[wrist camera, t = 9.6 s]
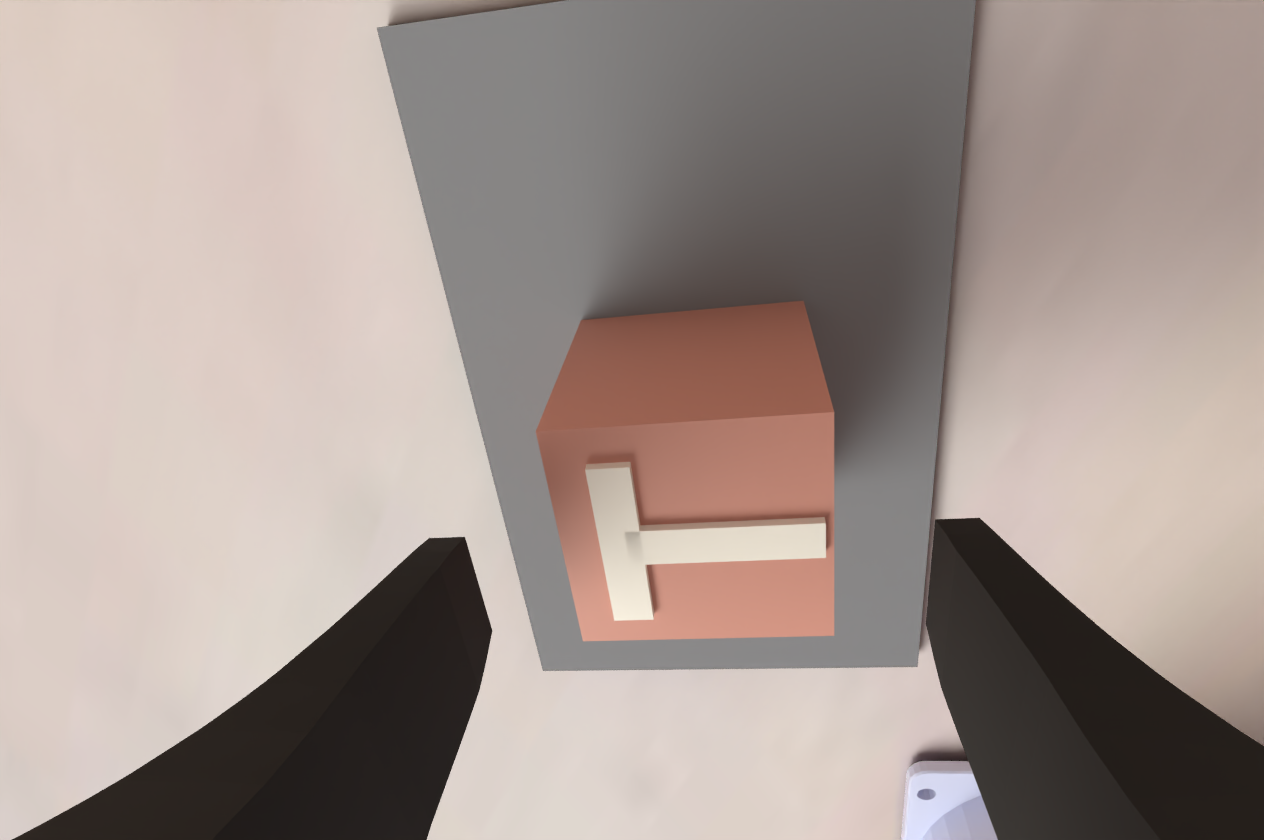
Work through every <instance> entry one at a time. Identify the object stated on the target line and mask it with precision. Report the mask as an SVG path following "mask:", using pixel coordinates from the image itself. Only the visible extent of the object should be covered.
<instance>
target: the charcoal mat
mask: <svg viewBox="0 0 1264 840" xmlns="http://www.w3.org/2000/svg"><path fill="white" fill-rule="evenodd" d="M975 4H976V0H565V1H558V2H551V3H545V4H538V5H531V6H524V7H517V8H510V9H503V10H496V11H489V12H482V13H475V14H469V15H462V16H455V17H448V18H441V19H434V20H427V21H420V22H413V23H406V24H399V25H393V26H386V27H379V28H377V31H378V35H379V39H380V42H381V46H382V50H383V54H384V58H385V62H386V66H387V69H388V73H389V77H390V81H391V85H392V89H393V93H394V97H395V100H396V104H397V108H398V112H399V116H400V120H401V124H402V127H403V131H404V135H405V139H406V143H407V147H408V151H409V155H410V158H411V162H412V166H413V170H414V174H415V178H416V182H417V185H418V189H419V193H420V197H421V201H422V205H423V209H424V213H425V216H426V220H427V224H428V228H429V232H430V236H431V240H432V243H433V247H434V251H435V255H436V259H437V263H438V267H439V271H440V274H441V278H442V282H443V286H444V290H445V294H446V298H447V301H448V305H449V309H450V313H451V317H452V321H453V325H454V329H455V332H456V336H457V340H458V344H459V348H460V352H461V356H462V359H463V363H464V367H465V371H466V375H467V379H468V383H469V387H470V390H471V394H472V398H473V402H474V406H475V410H476V414H477V418H478V421H479V425H480V429H481V433H482V437H483V441H484V445H485V448H486V452H487V456H488V460H489V464H490V468H491V472H492V476H493V479H494V483H495V487H496V491H497V495H498V499H499V503H500V506H501V510H502V514H503V518H504V522H505V526H506V530H507V534H508V537H509V541H510V545H511V549H512V553H513V557H514V561H515V564H516V568H517V572H518V576H519V580H520V584H521V588H522V592H523V595H524V599H525V603H526V607H527V611H528V615H529V619H530V622H531V626H532V630H533V634H534V638H535V642H536V646H537V650H538V653H539V657H540V661H541V665H542V669H543V671H578V670H673V669H768V668H862V667H918V656H919V644H920V633H921V621H922V610H923V598H924V587H925V575H926V564H927V553H928V541H929V530H930V518H931V507H932V495H933V484H934V473H935V461H936V450H937V438H938V427H939V415H940V404H941V393H942V381H943V370H944V358H945V347H946V335H947V324H948V313H949V301H950V290H951V278H952V267H953V255H954V244H955V233H956V221H957V210H958V198H959V187H960V175H961V164H962V152H963V141H964V130H965V118H966V107H967V95H968V84H969V72H970V61H971V50H972V38H973V27H974V15H975ZM793 301H804V304H805V308H806V312H807V315H808V319H809V322H810V326H811V330H812V333H813V337H814V341H815V344H816V348H817V351H818V355H819V359H820V362H821V366H822V370H823V373H824V377H825V380H826V384H827V388H828V391H829V395H830V398H831V402H832V406H833V409H834V636H803V637H757V638H711V639H666V640H620V641H583V639H582V635H581V630H580V626H579V621H578V617H577V613H576V608H575V604H574V599H573V595H572V591H571V586H570V582H569V577H568V573H567V568H566V564H565V560H564V555H563V551H562V546H561V542H560V537H559V533H558V529H557V524H556V520H555V515H554V511H553V506H552V502H551V498H550V493H549V489H548V484H547V480H546V475H545V471H544V467H543V462H542V458H541V453H540V449H539V444H538V440H537V436H536V429H537V427H538V424H539V422H540V420H541V417H542V415H543V412H544V410H545V407H546V405H547V402H548V400H549V397H550V395H551V393H552V390H553V388H554V385H555V383H556V380H557V378H558V375H559V373H560V370H561V368H562V366H563V363H564V361H565V358H566V356H567V353H568V351H569V348H570V346H571V343H572V341H573V339H574V336H575V334H576V331H577V329H578V326H579V324H580V321H581V320H588V319H599V318H611V317H622V316H634V315H645V314H656V313H668V312H679V311H691V310H702V309H713V308H725V307H736V306H748V305H759V304H770V303H782V302H793Z"/></svg>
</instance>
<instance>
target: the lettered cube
mask: <svg viewBox="0 0 1264 840" xmlns="http://www.w3.org/2000/svg"><path fill="white" fill-rule="evenodd" d="M536 436H537V440H538V444H539V449H540V453H541V458H542V462H543V467H544V471H545V475H546V480H547V484H548V489H549V493H550V498H551V502H552V506H553V511H554V515H555V520H556V524H557V529H558V533H559V537H560V542H561V546H562V551H563V555H564V560H565V564H566V568H567V573H568V577H569V582H570V586H571V591H572V595H573V599H574V604H575V608H576V613H577V617H578V621H579V626H580V630H581V635H582V639H583V641H620V640H666V639H711V638H757V637H803V636H834V409H833V406H832V402H831V398H830V395H829V391H828V388H827V384H826V380H825V377H824V373H823V370H822V366H821V362H820V359H819V355H818V351H817V348H816V344H815V341H814V337H813V333H812V330H811V326H810V322H809V319H808V315H807V312H806V308H805V304H804V301H793V302H782V303H770V304H759V305H748V306H736V307H725V308H713V309H702V310H691V311H679V312H668V313H656V314H645V315H634V316H622V317H611V318H599V319H588V320H581V321H580V324H579V326H578V329H577V331H576V334H575V336H574V339H573V341H572V343H571V346H570V348H569V351H568V353H567V356H566V358H565V361H564V363H563V366H562V368H561V370H560V373H559V375H558V378H557V380H556V383H555V385H554V388H553V390H552V393H551V395H550V397H549V400H548V402H547V405H546V407H545V410H544V412H543V415H542V417H541V420H540V422H539V424H538V427H537V429H536Z"/></svg>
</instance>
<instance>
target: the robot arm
mask: <svg viewBox="0 0 1264 840" xmlns="http://www.w3.org/2000/svg"><path fill="white" fill-rule="evenodd" d="M926 626H927V630H928V634H929V639H930V643H931V647H932V652H933V656H934V660H935V664H936V668H937V672H938V676H939V680H940V684H941V688H942V691H943V694H944V697H945V699H946V702H947V705H948V708H949V710H950V713H951V716H952V718H953V721H954V724H955V727H956V729H957V732H958V735H959V737H960V740H961V743H962V745H963V748H964V751H965V753H966V756H967V759H968V761H919V762H917V763H914V764H913V765H911V766H910V767H909V768H908V770H907V775H906V787H905V798H904V810H903V822H902V833H901V840H1264V746H1262V745H1261V744H1259V743H1258V742H1256V741H1255V740H1253V739H1252V738H1250V737H1248V736H1247V735H1245V734H1244V733H1242V732H1241V731H1239V730H1238V729H1236V728H1235V727H1233V726H1232V725H1230V724H1229V723H1227V722H1226V721H1225V720H1223V719H1222V718H1220V717H1219V716H1217V715H1216V714H1214V713H1213V712H1211V711H1210V710H1209V709H1207V708H1206V707H1204V706H1203V705H1201V704H1200V703H1198V702H1197V701H1195V700H1194V699H1193V698H1191V697H1190V696H1188V695H1187V694H1185V693H1184V692H1182V691H1181V690H1180V689H1178V688H1177V687H1176V686H1174V685H1173V684H1172V683H1170V682H1169V681H1167V680H1166V679H1165V678H1163V677H1162V676H1161V675H1159V674H1158V673H1157V672H1155V671H1154V670H1153V669H1151V668H1150V667H1149V666H1148V665H1146V664H1145V663H1144V662H1143V661H1141V660H1140V659H1139V658H1137V657H1136V656H1135V655H1134V654H1132V653H1131V652H1130V651H1128V650H1127V649H1126V648H1125V647H1123V646H1122V645H1121V644H1120V643H1118V642H1117V641H1116V640H1114V639H1113V638H1112V637H1111V636H1110V635H1108V634H1107V633H1106V632H1105V631H1104V630H1102V629H1101V628H1100V627H1099V626H1098V625H1096V624H1095V623H1094V622H1093V621H1092V620H1091V619H1090V618H1088V617H1087V616H1086V615H1085V614H1084V613H1083V612H1081V611H1080V610H1079V609H1078V608H1077V607H1076V606H1075V605H1073V604H1072V603H1071V602H1070V601H1069V600H1068V599H1067V598H1065V597H1064V596H1063V595H1062V594H1061V593H1060V592H1059V591H1057V590H1056V589H1055V588H1054V587H1053V586H1052V585H1051V584H1050V583H1049V582H1048V581H1046V580H1045V579H1044V578H1043V577H1042V576H1041V575H1040V574H1039V573H1038V572H1037V571H1036V570H1035V569H1034V568H1032V567H1031V566H1030V565H1029V564H1028V563H1027V562H1026V561H1025V560H1024V559H1023V558H1022V557H1021V556H1020V555H1019V554H1017V553H1016V552H1015V551H1014V550H1013V549H1012V548H1011V547H1010V546H1009V545H1008V544H1007V543H1006V542H1005V541H1004V540H1003V539H1002V538H1001V537H1000V536H998V535H997V534H996V533H995V532H994V531H993V530H992V529H991V528H990V527H989V526H988V525H987V524H986V523H984V522H983V521H982V520H981V519H980V518H966V519H939V520H935V529H934V540H933V551H932V562H931V573H930V584H929V595H928V606H927V617H926ZM491 634H492V628H491V625H490V622H489V618H488V615H487V611H486V608H485V605H484V601H483V598H482V594H481V591H480V588H479V584H478V581H477V577H476V574H475V570H474V567H473V564H472V560H471V557H470V553H469V550H468V547H467V543H466V540H465V537H452V538H429V539H428V540H426V541H425V542H424V543H423V544H422V545H420V546H419V547H418V548H417V549H416V550H415V551H414V552H412V553H411V554H410V555H409V556H408V557H407V558H406V559H405V560H404V561H403V562H402V563H400V564H399V565H398V566H397V567H396V568H395V569H394V570H393V571H392V572H391V573H390V574H389V575H388V576H386V577H385V578H384V579H383V580H382V581H381V582H380V583H379V584H378V585H377V586H376V587H375V588H374V589H372V590H371V591H370V592H369V593H368V594H367V595H366V596H365V597H364V598H363V599H361V600H360V601H359V602H358V603H357V604H356V605H355V606H354V607H353V608H352V609H351V610H349V611H348V612H347V613H346V614H345V615H344V616H343V617H342V618H341V619H340V620H338V621H337V622H336V623H335V624H334V625H333V626H332V627H331V628H329V629H328V630H327V631H326V632H325V633H323V634H322V635H321V636H320V637H319V638H317V639H316V640H315V641H314V642H313V643H312V644H310V645H309V646H308V647H307V648H306V649H304V650H303V651H302V652H301V653H300V654H298V655H297V656H296V657H295V658H294V659H293V660H291V661H290V662H289V663H288V664H287V665H285V666H284V667H283V668H282V669H281V670H279V671H278V672H277V673H276V674H274V675H273V676H272V677H271V678H269V679H268V680H267V681H266V682H264V683H263V684H262V685H260V686H259V687H258V688H256V689H255V690H254V691H252V692H251V693H250V694H249V695H247V696H246V697H245V698H243V699H242V700H240V701H239V702H238V703H236V704H235V705H233V706H232V707H231V708H229V709H228V710H226V711H225V712H224V713H222V714H221V715H220V716H218V717H217V718H215V719H214V720H213V721H211V722H210V723H208V724H207V725H205V726H204V727H202V728H201V729H200V730H198V731H197V732H195V733H193V734H192V735H190V736H189V737H187V738H186V739H184V740H183V741H181V742H179V743H178V744H176V745H175V746H173V747H172V748H170V749H168V750H167V751H165V752H164V753H162V754H161V755H159V756H158V757H156V758H154V759H153V760H151V761H150V762H148V763H147V764H145V765H143V766H142V767H140V768H139V769H137V770H136V771H134V772H133V773H131V774H129V775H128V776H126V777H124V778H123V779H121V780H119V781H118V782H116V783H114V784H112V785H111V786H109V787H107V788H106V789H104V790H102V791H100V792H99V793H97V794H95V795H93V796H92V797H90V798H88V799H87V800H85V801H83V802H81V803H79V804H78V805H76V806H74V807H72V808H70V809H69V810H67V811H65V812H63V813H61V814H59V815H58V816H56V817H54V818H52V819H50V820H48V821H47V822H45V823H43V824H41V825H39V826H37V827H35V828H34V829H32V830H30V831H28V832H26V833H24V834H22V835H20V836H18V837H16V838H14V839H12V840H427V836H428V833H429V830H430V827H431V824H432V821H433V818H434V816H435V813H436V810H437V807H438V804H439V802H440V799H441V796H442V793H443V791H444V788H445V785H446V782H447V780H448V777H449V774H450V771H451V769H452V766H453V763H454V760H455V758H456V755H457V752H458V749H459V747H460V744H461V741H462V738H463V735H464V733H465V730H466V727H467V724H468V721H469V718H470V716H471V713H472V710H473V707H474V704H475V701H476V698H477V695H478V692H479V689H480V685H481V681H482V677H483V672H484V668H485V664H486V659H487V654H488V649H489V644H490V639H491Z"/></svg>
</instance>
